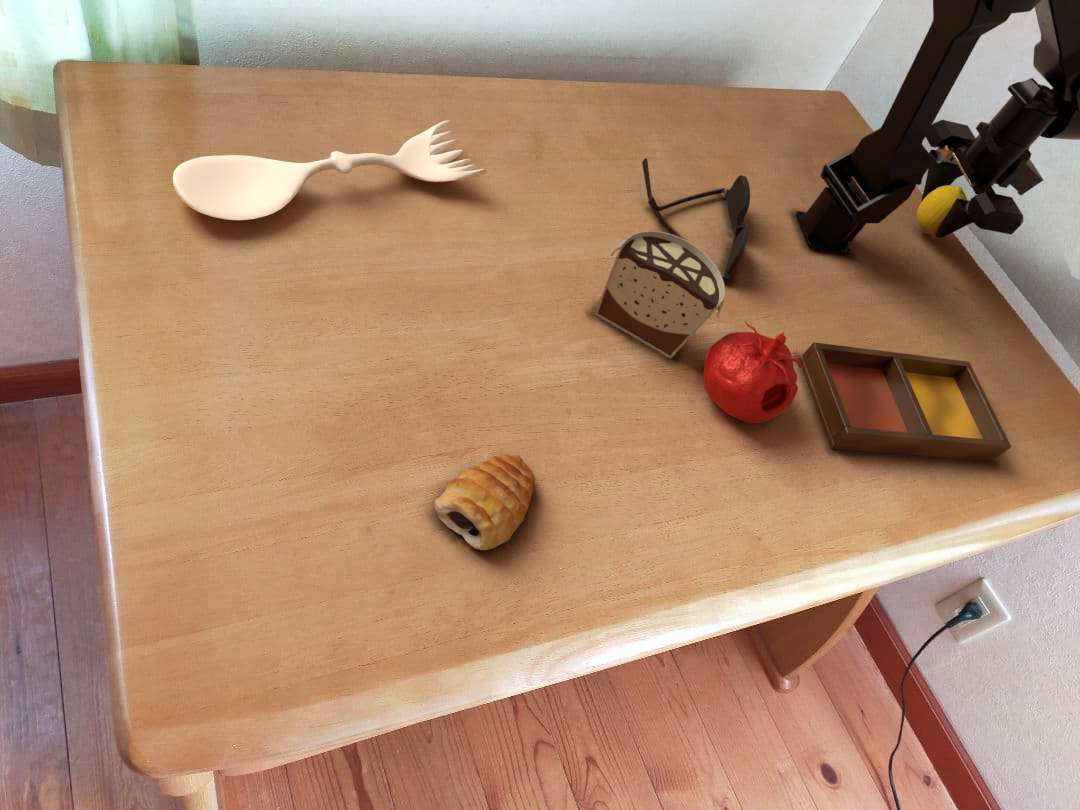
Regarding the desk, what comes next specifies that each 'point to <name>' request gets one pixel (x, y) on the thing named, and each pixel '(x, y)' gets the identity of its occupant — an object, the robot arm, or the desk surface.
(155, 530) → the desk surface
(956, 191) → the lemon
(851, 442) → the sorting tray
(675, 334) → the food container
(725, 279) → the sunglasses
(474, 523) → the pastry
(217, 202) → the spoon
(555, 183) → the desk surface
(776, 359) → the pomegranate
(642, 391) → the desk surface
